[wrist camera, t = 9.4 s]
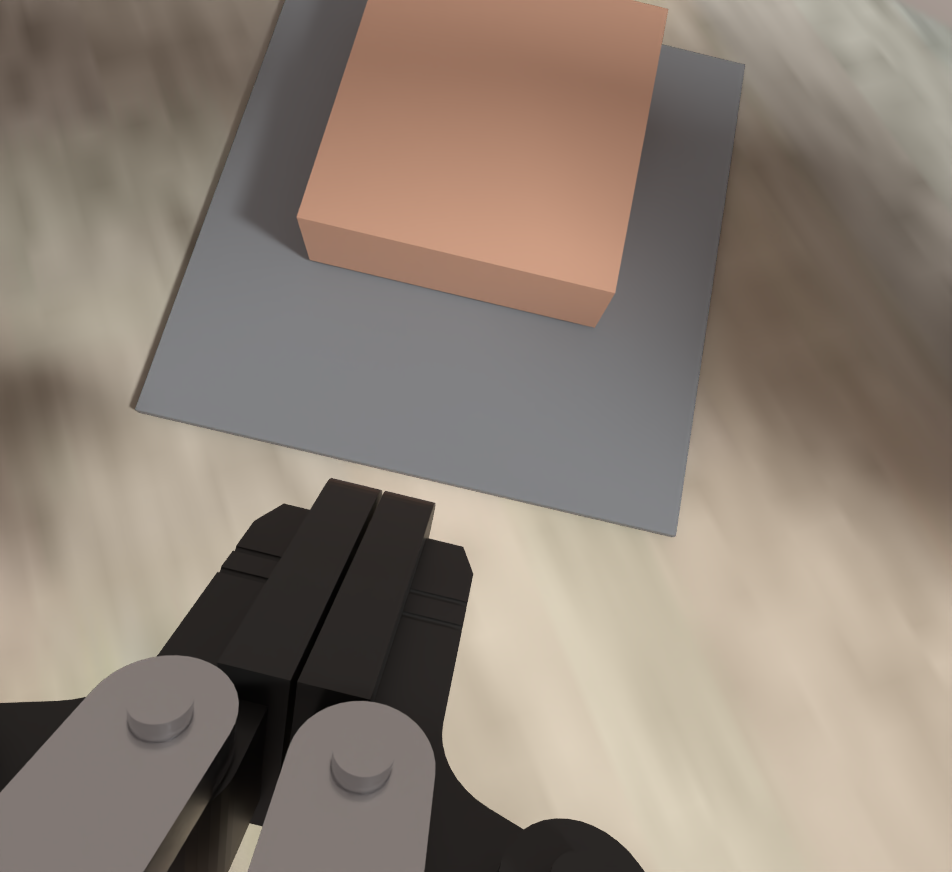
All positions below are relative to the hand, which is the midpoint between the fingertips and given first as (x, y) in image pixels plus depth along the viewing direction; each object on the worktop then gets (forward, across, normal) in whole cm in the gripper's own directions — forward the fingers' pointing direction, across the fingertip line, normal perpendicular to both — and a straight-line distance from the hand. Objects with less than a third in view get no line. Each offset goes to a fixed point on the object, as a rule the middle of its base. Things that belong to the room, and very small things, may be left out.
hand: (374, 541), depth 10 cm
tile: (+12, +1, -1) cm, 12 cm away
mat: (+15, +1, -2) cm, 15 cm away
